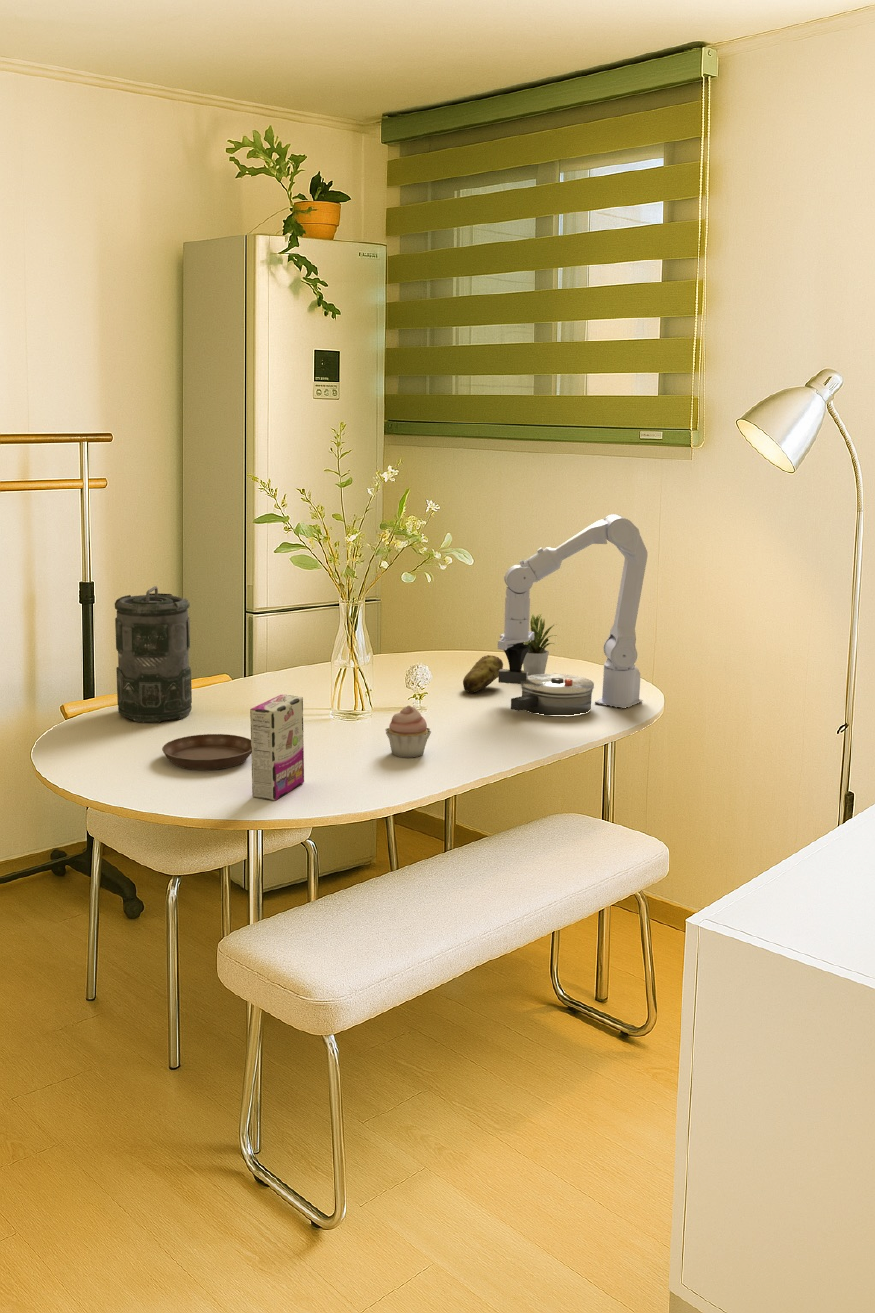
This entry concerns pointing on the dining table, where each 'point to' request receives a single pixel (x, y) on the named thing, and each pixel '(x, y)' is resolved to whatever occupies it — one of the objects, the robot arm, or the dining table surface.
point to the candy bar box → (277, 747)
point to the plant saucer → (208, 751)
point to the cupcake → (408, 733)
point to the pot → (552, 703)
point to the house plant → (537, 648)
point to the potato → (482, 673)
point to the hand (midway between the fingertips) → (515, 675)
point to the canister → (153, 657)
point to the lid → (546, 682)
